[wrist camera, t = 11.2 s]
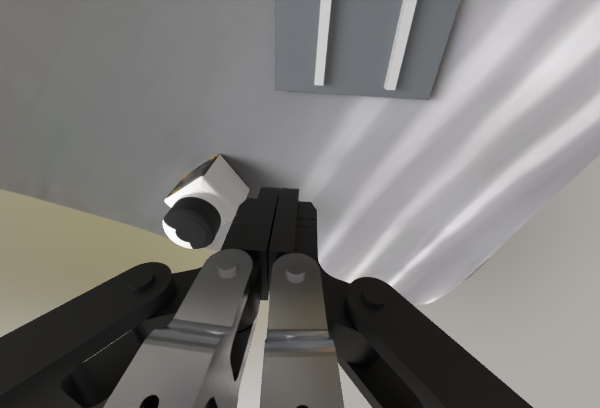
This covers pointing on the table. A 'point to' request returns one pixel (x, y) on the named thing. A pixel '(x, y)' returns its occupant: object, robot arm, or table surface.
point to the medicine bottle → (203, 203)
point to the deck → (361, 46)
